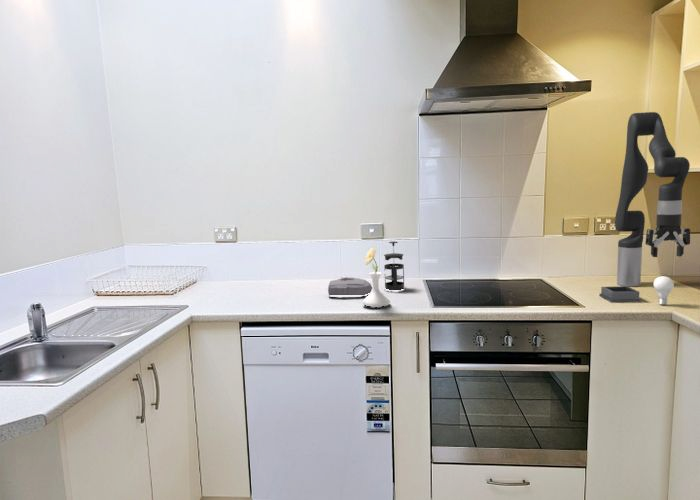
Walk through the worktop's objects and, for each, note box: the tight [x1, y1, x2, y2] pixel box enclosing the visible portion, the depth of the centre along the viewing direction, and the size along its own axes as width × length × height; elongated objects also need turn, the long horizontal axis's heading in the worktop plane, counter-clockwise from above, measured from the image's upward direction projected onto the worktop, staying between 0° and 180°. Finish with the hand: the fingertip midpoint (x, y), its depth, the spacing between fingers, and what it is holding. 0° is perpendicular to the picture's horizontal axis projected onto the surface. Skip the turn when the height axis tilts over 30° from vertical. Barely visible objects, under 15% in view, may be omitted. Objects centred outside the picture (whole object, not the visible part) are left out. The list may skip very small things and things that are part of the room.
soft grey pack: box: [327, 276, 373, 296], centre depth 214 cm, size 15×8×20 cm
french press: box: [383, 241, 405, 290], centre depth 220 cm, size 12×9×23 cm
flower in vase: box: [362, 246, 391, 308], centre depth 191 cm, size 13×11×25 cm
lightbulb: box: [653, 275, 675, 306], centre depth 176 cm, size 6×6×11 cm
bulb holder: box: [598, 285, 642, 304], centre depth 188 cm, size 11×11×4 cm
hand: (666, 256), depth 174 cm, fingers open, 8 cm apart
